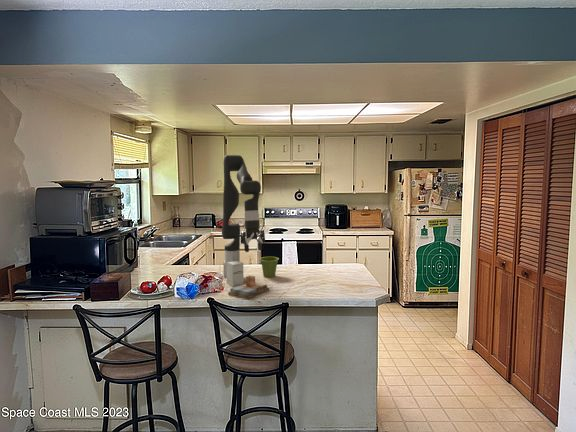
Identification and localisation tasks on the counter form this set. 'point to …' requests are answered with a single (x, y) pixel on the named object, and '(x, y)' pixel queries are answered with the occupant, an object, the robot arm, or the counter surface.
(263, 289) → the ticket board
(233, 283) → the supplement box
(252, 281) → the stub
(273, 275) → the plant pot
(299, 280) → the counter surface
